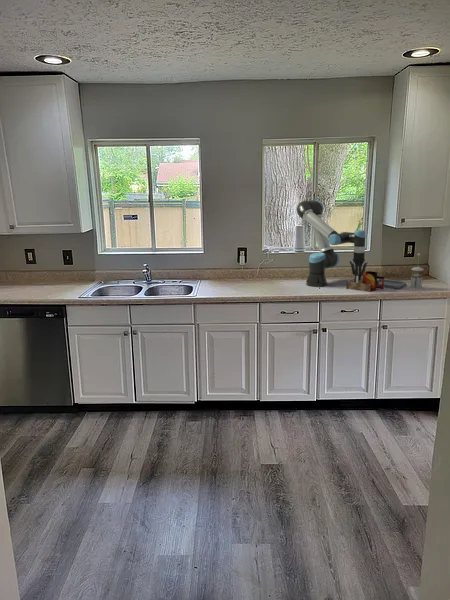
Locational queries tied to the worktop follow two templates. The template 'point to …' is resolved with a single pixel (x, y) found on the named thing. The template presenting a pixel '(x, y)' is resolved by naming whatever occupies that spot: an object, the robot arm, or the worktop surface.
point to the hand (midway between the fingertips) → (357, 284)
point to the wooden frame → (359, 285)
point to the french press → (416, 278)
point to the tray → (392, 284)
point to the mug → (372, 280)
